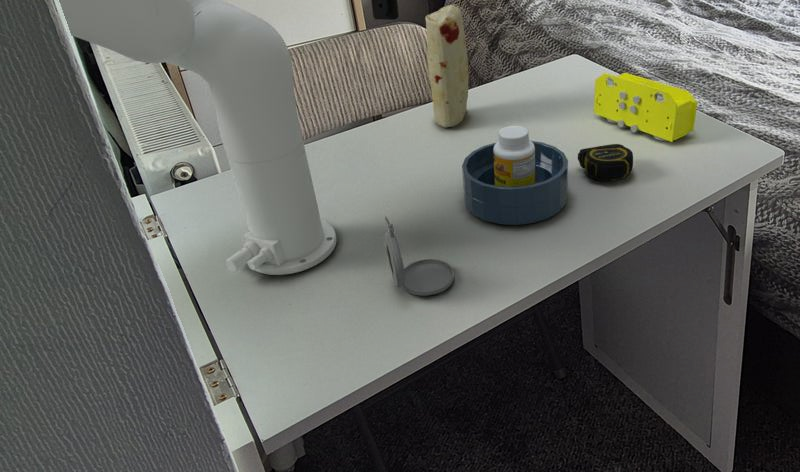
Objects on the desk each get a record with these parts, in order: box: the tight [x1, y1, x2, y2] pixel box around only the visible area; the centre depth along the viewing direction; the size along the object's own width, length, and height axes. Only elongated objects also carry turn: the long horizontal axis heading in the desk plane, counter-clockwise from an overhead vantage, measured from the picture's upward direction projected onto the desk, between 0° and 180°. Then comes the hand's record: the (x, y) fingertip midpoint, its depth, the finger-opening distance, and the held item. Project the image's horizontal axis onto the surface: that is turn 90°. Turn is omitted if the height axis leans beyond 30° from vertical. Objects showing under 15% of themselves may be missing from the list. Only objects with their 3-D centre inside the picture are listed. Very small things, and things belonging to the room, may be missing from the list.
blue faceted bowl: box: [461, 140, 569, 226], centre depth 91 cm, size 14×14×6 cm
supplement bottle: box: [493, 125, 535, 187], centre depth 90 cm, size 6×6×10 cm
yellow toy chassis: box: [593, 72, 698, 143], centre depth 105 cm, size 16×6×8 cm, turn 32°
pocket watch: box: [384, 216, 455, 296], centre depth 77 cm, size 8×8×10 cm
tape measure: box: [577, 143, 634, 181], centre depth 95 cm, size 7×7×4 cm
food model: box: [425, 4, 469, 129], centre depth 113 cm, size 10×7×20 cm
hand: (403, 8), depth 83 cm, fingers open, 9 cm apart
